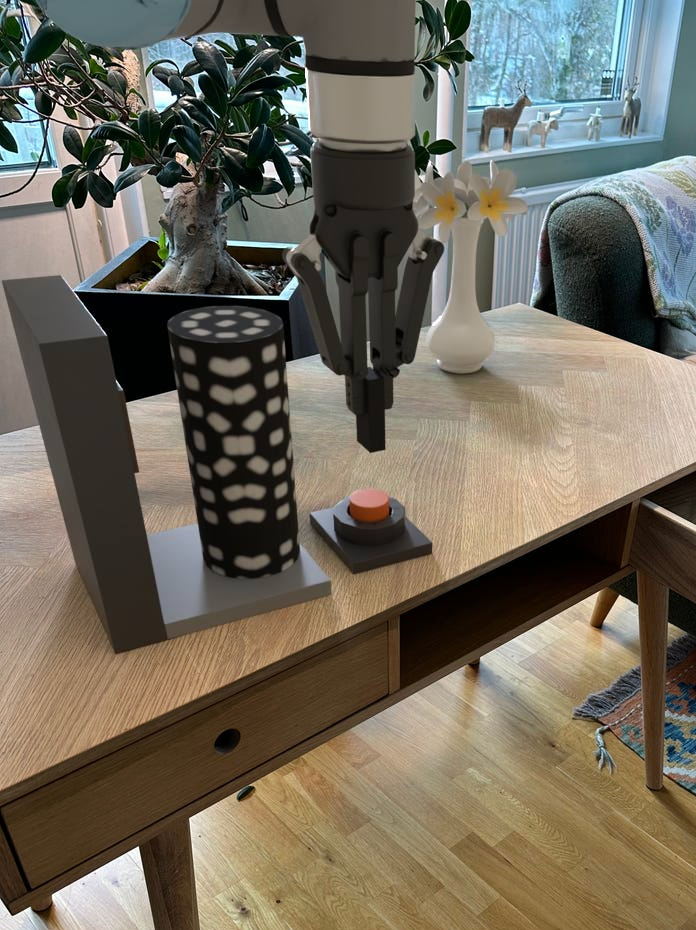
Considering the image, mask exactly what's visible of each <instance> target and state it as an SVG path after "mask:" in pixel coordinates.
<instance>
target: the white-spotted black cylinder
mask: <svg viewBox="0 0 696 930" xmlns="http://www.w3.org/2000/svg"><path fill="white" fill-rule="evenodd" d="M166 327H167V333H168V340H169V346H170V347H169V348H170V352H171V353H170V354H171V358H172V366H173V372H174V378H175V385H176V391H177V398H178V405H179V411H180V412H179V413H180V418H181V424H182V430H183V437H184V443H185V450H186V456H187V463H188V469H189V476H190V483H191V488H192V489H191V490H192V495H193V502H194V508H195V514H196V522H197V524H198V528H199V535H200V541H201V548H202V554H203V560H204V562H205V564H206V566H207V567H209V568H210V569H211V570H212V571H214V572H216V573H218V574H221V575H224V576H227V577H232V578H241V579H253V578H261V577H267V576H271V575H274V574H277V573H279V572H282V571H284V570H285V569H287V568H289V567H290V566H291V565H293V564H294V563H295V562H296V560H297V559H298V557H299V554H300V543H301V542H300V533H299V531H300V530H299V519H298V518H299V517H298V505H297V503H298V502H297V491H296V477H295V464H294V463H295V462H294V452H293V450H294V449H293V437H292V436H293V435H292V425H291V409H290V398H289V396H290V395H289V384H288V371H287V356H286V345H285V330H284V322H283V319H282V318H281V317H280V316H279V315H277V314H275V313H273V312H270V311H268V310H265V309H261V308H258V307H257V308H256V307H250V306H242V305H240V306H239V305H214V306H213V305H212V306H204V307H199V308H193V309H189V310H188V309H187V310H185V311H182V312H180V313H177V314H175V315H174V316H172V317H171V318H170V319H169V320H168V321H167V323H166ZM299 542H300V543H299Z"/></svg>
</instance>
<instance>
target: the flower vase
mask: <svg viewBox="0 0 696 930" xmlns="http://www.w3.org/2000/svg"><path fill="white" fill-rule="evenodd" d="M489 171H490V172H489V174H490V177H488V176H487V177H486V176H482V175H481V174H478V173H473V167H472V163H471V162H470V161H469V160H464V161H463V162H462V163H461V164H460V165H459V167H458V169H457V171H456V178H455V176H454V174H453V173H452V172H451V171H447V172H446V173H445V174H444V176H443V177H436V178H434V170H433V165H432V161H431V160H429V162H428V163H427V167H426V170H425V174H424V181H422V182H421V180H420V177H419V174H418V172H417V170H416V169H415V196H414V199H413V211H414V214H415V216H416V218H417V219H418V218H419V220H418V229H419V230H420V231H426V230H429V229H432V228H433V227H435V226H437V225H438V230H437V231H438V238H439V240H440V242H442V243H443V244H447V243H448V241H449V239H450V237H451V236H452V237H451V240H452V264H451V265H452V266H451V277H450V278H451V279H450V288H449V293H448V300H447V303H446V305H445V307H444V309H443V311H442V313H441V314H440V316H439V317H438V318H436V319H435V320H434V322H433V323H432V324H431V326H430V327H429V329H428V331H427V334H426V337H425V344H426V347H427V349H428V351H429V353H431V355H432V356H433V357H434V358H435V359H436V364H437V367H438V368H440V369H441V370H443V371H445V372H448V373H452V374H472V373H476V372H478V371H480V370H481V369H482V367H483V362H484V361H486V360H487V359H488V358H490V356H491V355H492V354H493V352H494V350H495V347H496V338H495V334H494V332H493V329H492V327H491V326H490V325H489V323H488V322H487V321H486V320H485V319H484V317H483V316H482V314H481V312H480V308H479V305H478V301H477V300H478V299H477V291H476V290H477V289H476V285H477V284H476V281H477V280H476V278H477V277H476V276H477V273H476V271H477V268H476V266H477V251H478V243H479V238H480V233H481V228H482V225H483V224H484V222H485V220H486V219H488V220H489V223H490V226H491V228H492V230H493V232H494V233H495V234H496V235H497V236H498V237H500V238H504V237H505V236H506V235H507V234H508V229H509V225H508V221H509V222H511V223H513V222H514V216H516V215H522V216H526V215H528V203H527V202H526V201H525V200H524V199H523V198H520V197H517V196H511V195H512V194H513V193H514V192H515V190H516V188H517V184H518V179H517V175H516V174H515V172H513V171H511V170H510V169H508V168H503V169H501V170H500V171H499V168H498V166H497V164H496V162H495V161H494V160H490V162H489ZM430 205H431V206H432V207H431V208H430Z"/></svg>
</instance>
